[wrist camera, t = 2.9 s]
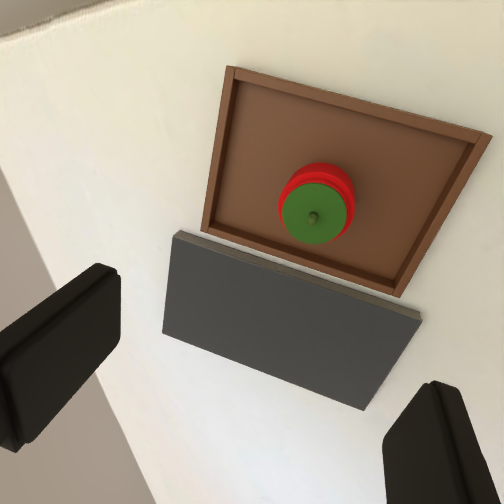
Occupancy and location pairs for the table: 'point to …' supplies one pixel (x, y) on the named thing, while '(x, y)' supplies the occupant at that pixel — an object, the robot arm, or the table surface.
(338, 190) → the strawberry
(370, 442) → the table surface
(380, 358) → the board
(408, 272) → the tray
